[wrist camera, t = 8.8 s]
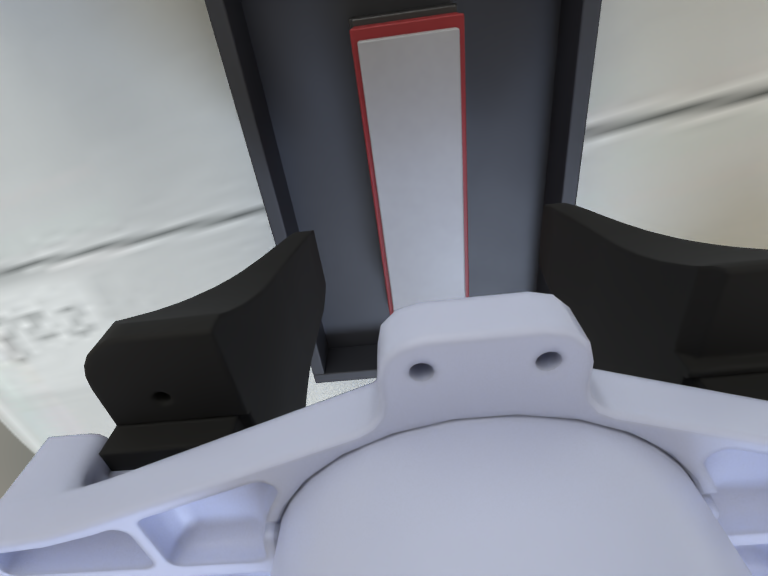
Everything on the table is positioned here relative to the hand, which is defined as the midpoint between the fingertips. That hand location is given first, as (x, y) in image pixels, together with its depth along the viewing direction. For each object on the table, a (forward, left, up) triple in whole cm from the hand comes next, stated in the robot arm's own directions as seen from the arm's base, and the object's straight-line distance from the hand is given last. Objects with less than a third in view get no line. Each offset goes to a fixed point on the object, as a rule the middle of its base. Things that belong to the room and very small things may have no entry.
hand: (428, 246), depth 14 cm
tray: (0, 0, -6) cm, 6 cm away
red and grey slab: (0, 0, -6) cm, 6 cm away
